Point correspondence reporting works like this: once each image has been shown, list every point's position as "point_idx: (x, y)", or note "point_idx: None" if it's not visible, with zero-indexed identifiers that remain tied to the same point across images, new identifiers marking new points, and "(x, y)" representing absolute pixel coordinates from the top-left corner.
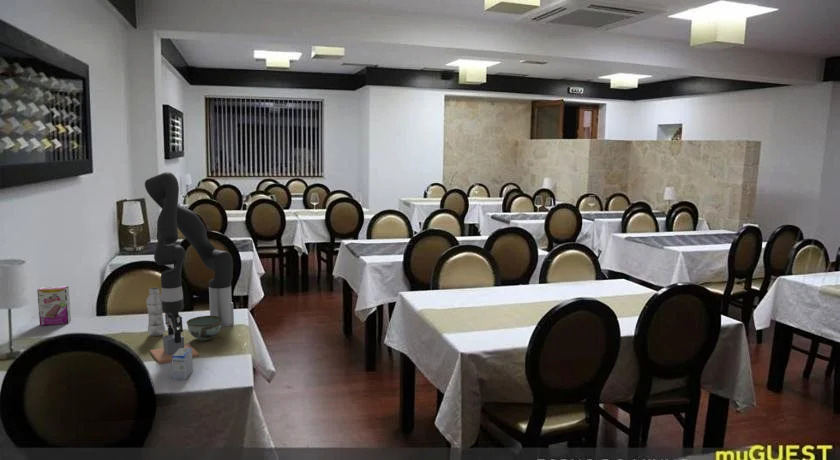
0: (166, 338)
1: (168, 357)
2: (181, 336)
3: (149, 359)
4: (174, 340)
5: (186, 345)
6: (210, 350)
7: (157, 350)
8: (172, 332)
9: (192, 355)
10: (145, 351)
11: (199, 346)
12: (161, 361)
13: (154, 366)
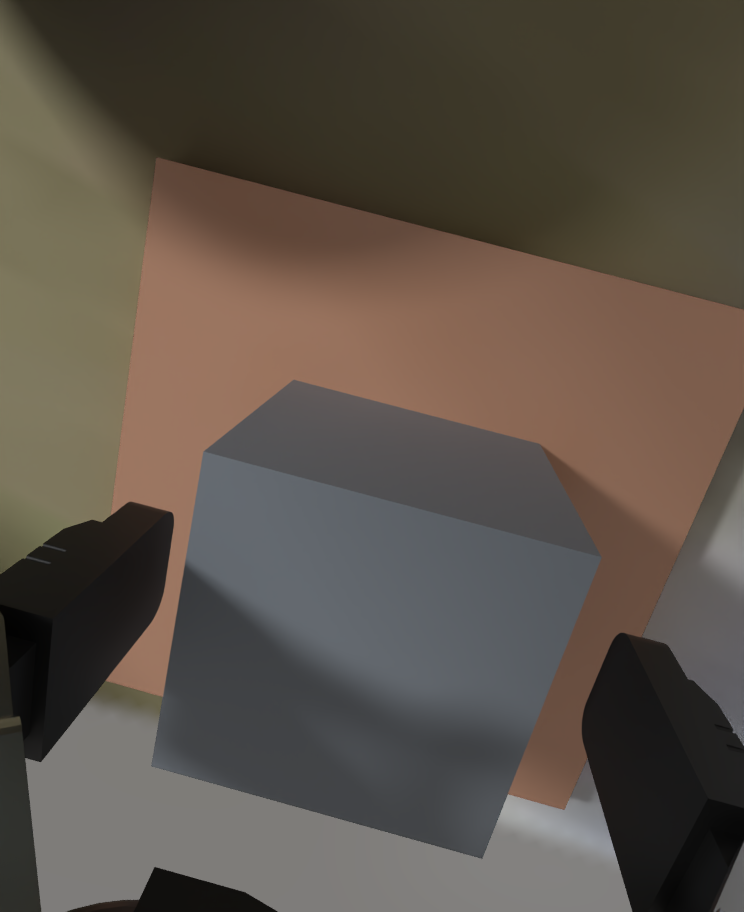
0: (365, 811)
1: None
2: (506, 566)
3: None
4: (590, 765)
5: (261, 247)
6: (715, 11)
7: (168, 630)
8: (125, 590)
9: (732, 416)
10: None
11: (360, 42)
12: (572, 781)
13: (587, 845)
